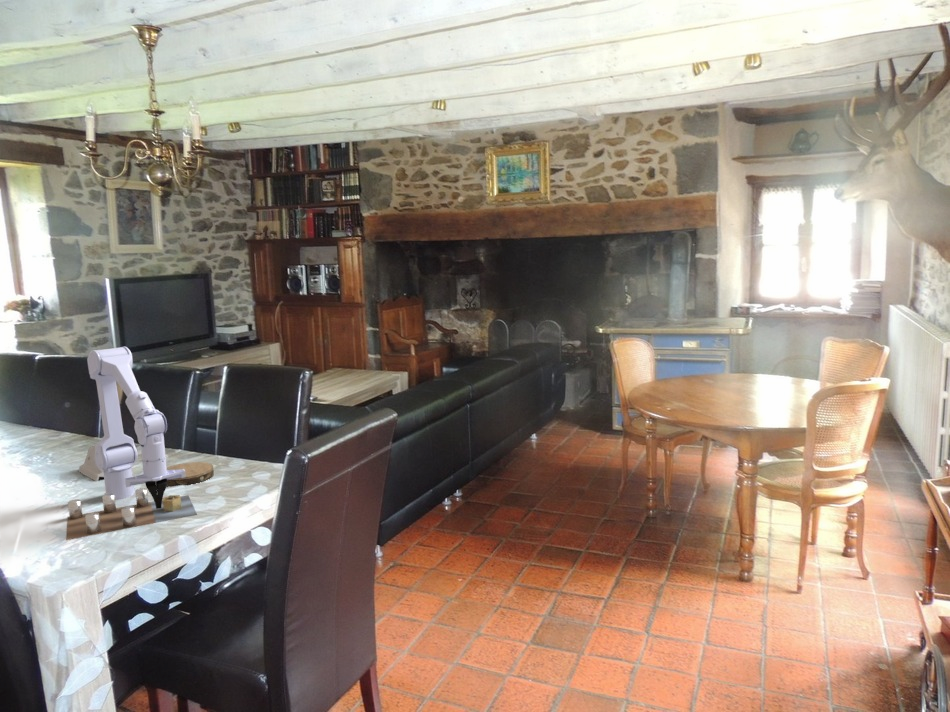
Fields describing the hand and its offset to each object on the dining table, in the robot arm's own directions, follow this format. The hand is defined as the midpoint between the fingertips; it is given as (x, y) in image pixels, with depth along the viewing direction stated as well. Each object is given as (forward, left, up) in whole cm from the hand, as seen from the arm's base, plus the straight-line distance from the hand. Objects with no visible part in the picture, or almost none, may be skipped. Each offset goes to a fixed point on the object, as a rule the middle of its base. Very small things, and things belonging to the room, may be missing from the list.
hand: (158, 507), depth 184 cm
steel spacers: (0, -11, -2) cm, 12 cm away
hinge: (-51, -13, -2) cm, 53 cm away
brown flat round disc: (-29, +11, -2) cm, 31 cm away
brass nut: (0, +3, -1) cm, 3 cm away
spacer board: (0, -6, -2) cm, 7 cm away
